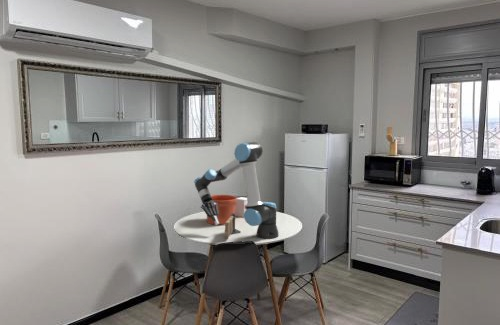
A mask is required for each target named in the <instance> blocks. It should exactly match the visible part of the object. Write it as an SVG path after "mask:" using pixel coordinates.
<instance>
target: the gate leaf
mask: <svg viewBox="0 0 500 325" xmlns="http://www.w3.org/2000/svg"><path fill="white" fill-rule="evenodd" d="M224 227H225V228H224V239H225V240H228V239H229V237H231V235H232V234H231V233H232V232H233V216H231V217H230V218H229V219H228V220H227V222H226V223H225V225H224Z"/></svg>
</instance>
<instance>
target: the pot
mask: <svg viewBox="0 0 500 325" xmlns="http://www.w3.org/2000/svg"><path fill="white" fill-rule="evenodd" d="M210 195H211V194H210ZM211 197H212V200H213V201H214V203H218V205H217V206H218V212H219V214H218V216H217V217H218V222H219V224H218V226H225V223H226V222H227V220H228V219H229V218H230V213H235V207H236V202H237V198H238V197H237V196H235V195H231V194H230V195H229V194H212V195H211ZM213 206H214V205H213ZM214 209H215V206H214ZM206 222H207V223H208V224H210V225H215V222H214V221H213V220H212V218H211V217H208V216H207V215H206ZM215 226H216V225H215Z"/></svg>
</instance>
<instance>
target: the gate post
mask: <svg viewBox="0 0 500 325" xmlns="http://www.w3.org/2000/svg"><path fill="white" fill-rule="evenodd" d="M231 216H233V232H232V233H231V235H236V234H240V233H241V230H239V229H237V228H236V216H235V213H230V217H231Z"/></svg>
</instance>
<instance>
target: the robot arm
mask: <svg viewBox="0 0 500 325" xmlns="http://www.w3.org/2000/svg"><path fill="white" fill-rule="evenodd" d="M263 153H264V151H263V146H262V145H261V144H260V143H258V142H255V141H253V142H241V143H239V144H237V145H236V147H235V149H234V153H233V154H234V158H235V159H233V160H232V161H230V162H229V163H227V164H225V165H224V166H223V167H221V168H220V169H218V170H215V169H212V168H209V169H207V170H206V171H205V173H204V174H203V175H202V176H198V177H197V178H195V179H194V181H193V183H194V187H195V189H196V191H197V193H198V195H199V197H200V200H201V203H202V204H201V206H200V208H201V209H202V210H203V211H204V213H205V214H206V217H207V216H208V217H211V218H212V220H213V221H214V222H215V226H216V227H217V226H219V225H218V224H219V222H218V217H217V216H218V214H219V212H218V206H217V205H218V203H214V201H213V200H212V197H211V193H210V190H209V188H208V187H209V185H210V184H211V183H215V182H220V181H221V182H222V181H225V180H227V179H228V177H230V176H231V175H233V174H234V173H235V172H237V171H239V170H240V169H241V168H242V174H243V181H244V185H245V191H246V192H245V193H246V198H247V201H248V203H247V205H246V211H245V213H244V217H243V219H244V221H245V223H246V224H248V225H249V226H251V227H256V226H258V227H257V229H256V237H257V238H260V239H269V240H270V239H276V238H278V237H279V229H278V227H277V204H276V203H275V202H270V201H269V202H268V201H261V200H262V199H261V195H260V188H259V187H260V186H259V182H258V175H257V169H256V168H257V167H256V164H257V162H258V159H260V158H261V157H262V155H263ZM213 205H214V206H215V209H214V206H213Z"/></svg>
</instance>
